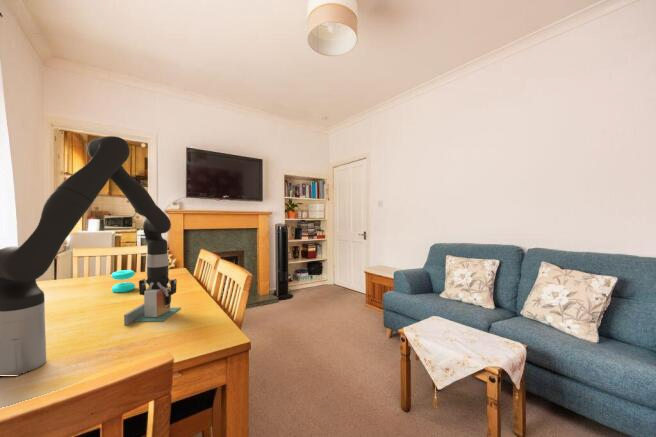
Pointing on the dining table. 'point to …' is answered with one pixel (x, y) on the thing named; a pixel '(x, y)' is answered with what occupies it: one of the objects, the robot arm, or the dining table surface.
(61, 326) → the dining table surface
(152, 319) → the mat
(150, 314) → the small box
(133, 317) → the divider wall
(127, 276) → the donuts
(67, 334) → the dining table surface
